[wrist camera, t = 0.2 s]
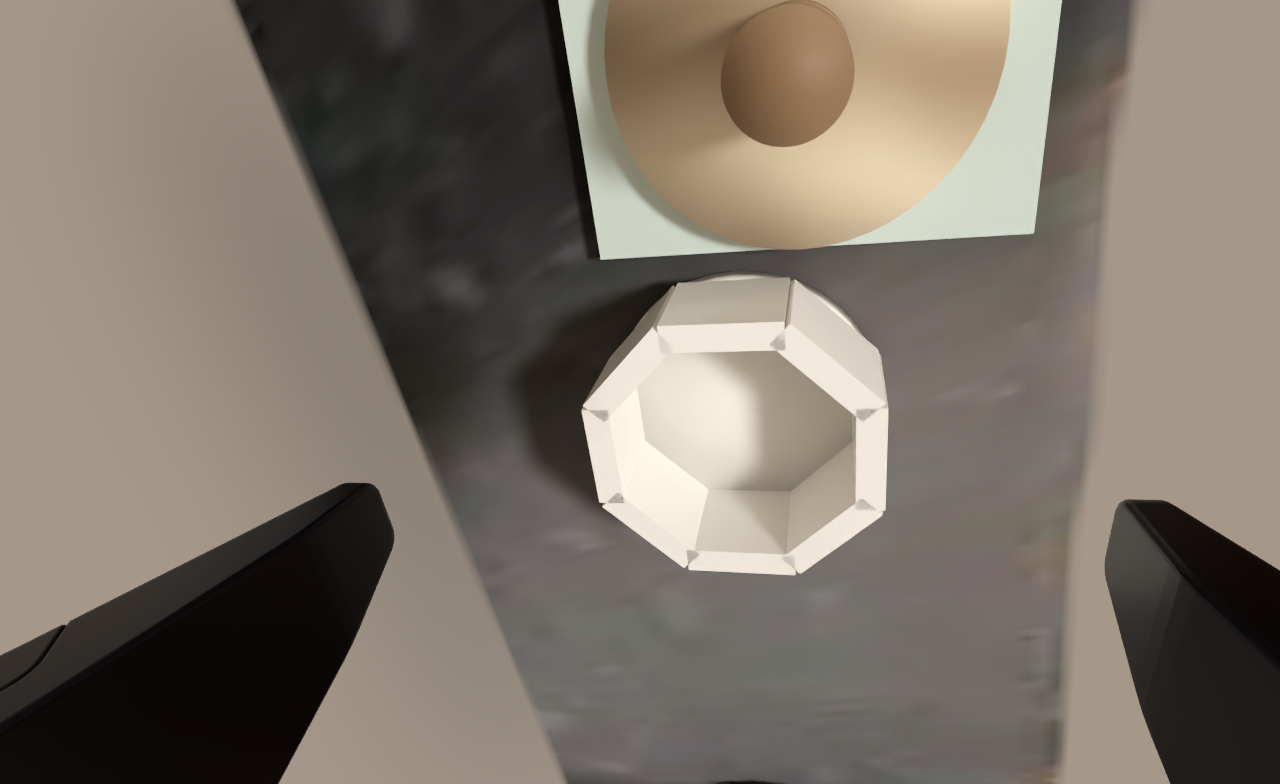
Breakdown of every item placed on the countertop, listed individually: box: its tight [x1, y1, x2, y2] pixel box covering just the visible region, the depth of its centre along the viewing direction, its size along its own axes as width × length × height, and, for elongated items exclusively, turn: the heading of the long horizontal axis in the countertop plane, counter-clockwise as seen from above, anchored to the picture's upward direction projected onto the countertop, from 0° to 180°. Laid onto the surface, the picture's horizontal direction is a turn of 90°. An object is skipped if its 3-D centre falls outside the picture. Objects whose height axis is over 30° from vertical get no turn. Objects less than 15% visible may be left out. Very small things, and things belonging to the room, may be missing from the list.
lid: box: [604, 0, 1011, 249], centre depth 17 cm, size 10×10×5 cm
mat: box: [558, 0, 1062, 260], centre depth 19 cm, size 10×12×1 cm
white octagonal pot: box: [581, 271, 888, 575], centre depth 22 cm, size 8×8×4 cm
